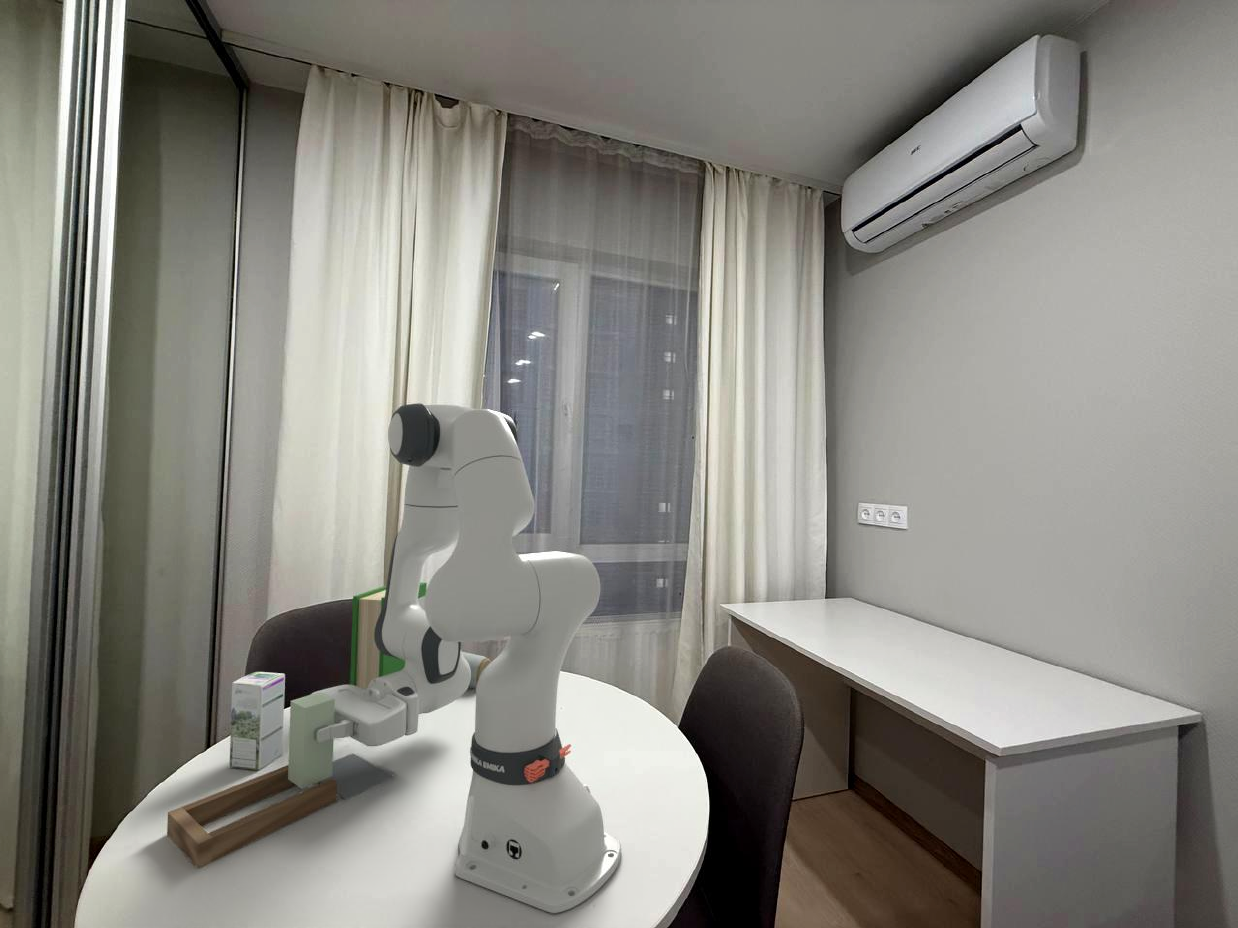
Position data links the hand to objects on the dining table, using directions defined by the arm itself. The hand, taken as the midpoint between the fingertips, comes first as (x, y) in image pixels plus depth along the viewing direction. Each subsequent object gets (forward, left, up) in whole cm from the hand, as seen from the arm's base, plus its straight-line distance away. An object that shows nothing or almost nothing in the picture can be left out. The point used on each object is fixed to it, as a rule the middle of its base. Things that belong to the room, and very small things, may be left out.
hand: (306, 730), depth 84 cm
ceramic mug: (+16, -46, -10) cm, 50 cm away
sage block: (0, -1, -7) cm, 8 cm away
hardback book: (+25, -30, -10) cm, 41 cm away
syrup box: (+17, 0, -10) cm, 20 cm away
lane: (0, +6, -10) cm, 12 cm away
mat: (0, -7, -10) cm, 12 cm away
